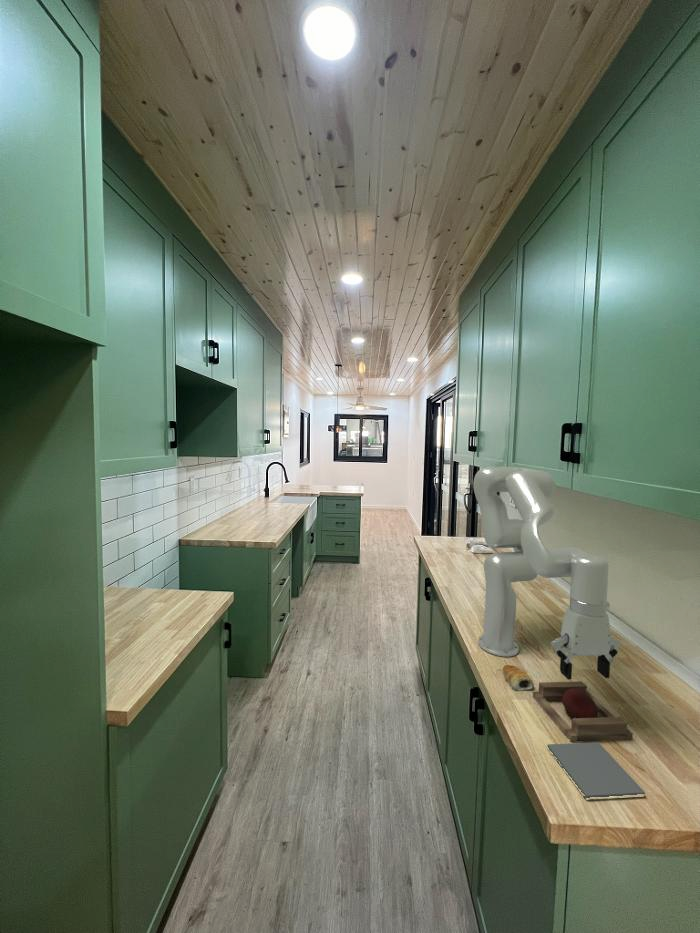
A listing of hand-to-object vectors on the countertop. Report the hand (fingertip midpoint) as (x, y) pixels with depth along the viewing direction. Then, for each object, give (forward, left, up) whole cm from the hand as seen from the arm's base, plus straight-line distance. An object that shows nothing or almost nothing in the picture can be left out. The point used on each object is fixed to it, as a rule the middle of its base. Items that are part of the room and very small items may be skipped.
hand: (584, 675), depth 91 cm
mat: (+14, -8, -11) cm, 20 cm away
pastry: (-15, -9, -12) cm, 21 cm away
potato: (-1, 0, -11) cm, 11 cm away
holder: (-1, 0, -11) cm, 11 cm away
